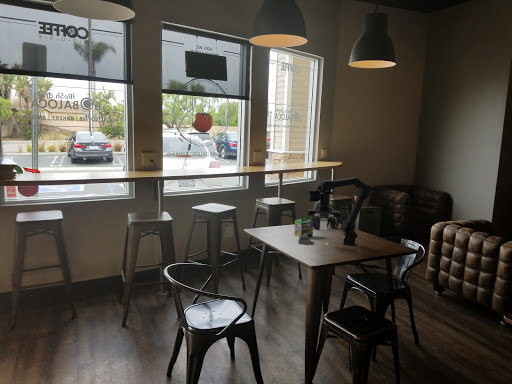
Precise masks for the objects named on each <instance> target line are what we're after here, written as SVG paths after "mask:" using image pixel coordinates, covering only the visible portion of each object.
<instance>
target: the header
mask: <svg viewBox="0 0 512 384" xmlns="http://www.w3.org/2000/svg"><path fill="white" fill-rule="evenodd" d="M297 242H298V244H299V245H304V246H305V245H311V243H312V237H298V241H297Z"/></svg>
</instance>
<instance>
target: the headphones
mask: <svg viewBox="0 0 512 384" xmlns="http://www.w3.org/2000/svg"><path fill="white" fill-rule="evenodd" d="M329 207H331V208H332V209H334V211H338V210H337V209H336V207H335V205H333V204H331V203H330V205H329ZM319 208H320V204H318V205H317V206H316V207H315V208H314V210H315V211H318V209H319ZM310 220H311V221H313V229H315V230H317V229H320V227H319V224H318V221H317V218H316V217H314V216H311V219H310ZM339 225H340V217H334V218H332V219H331V221H330V223H329V228H330V229H337V228H338V227H339Z"/></svg>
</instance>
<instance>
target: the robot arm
mask: <svg viewBox="0 0 512 384" xmlns="http://www.w3.org/2000/svg"><path fill="white" fill-rule="evenodd" d="M352 185H353V186H354V187H355V188H356V189H357V191H356V199H355V201H354V203H353V205H352V208H351V210H350V213H349V215H348V218H347V219H346V220H345V219H343V220H342V222H341V225H340V230H341V232H342V233H343V236H344V237H343V241H342V242H343V245H344V246H348V247H351V246H356V239H357V238H358V235H359V234H358V233H357V232H356V231H355V229H356V221H357V219H358V217H359V214H360V211H361V209H362V206H363V204H364V202H365V200H367V198H369V197H370V195H371V193H372V191H373V188H372V186H371V185H368V184H366V183H365V182H363V181H362V180H360V179H359V178H358V177H356V176H355V177H349V178H342V179H336V180H331V179H323V180H320V182H319V184H318V186H317V188H316V189H315V190H311V189H309V190H308V192H307V195H306V200H307V202H308V203H317V202H318V203H319V205H320V207H319V208H318V209H319V210H316V211H315V209H313V208H311V209H308V210H307V216H308V217H310V216H311V217H312V216H313V218H317V221H318V224H319V227H320V218H321V217H327V229H328V228H329V226H330V221H331V219H332V218H334V217H335V218H337V217H339V218H341V211H339V210H337V211H335V210H333V207H330V204H331V203H330V202H331V195H334V192H333V191H332V190H334V189H336V188H340V187H347V186H352ZM332 210H333V211H332Z"/></svg>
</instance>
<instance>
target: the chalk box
mask: <svg viewBox="0 0 512 384" xmlns="http://www.w3.org/2000/svg"><path fill="white" fill-rule="evenodd" d="M308 217H309V215H302V216H301V218H300V219H295V220H294V236H297V237H298V238H299V237H311V238H312V237H313V235H314V234H313V233H314V227H313V221H311V219H309V218H308Z"/></svg>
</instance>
